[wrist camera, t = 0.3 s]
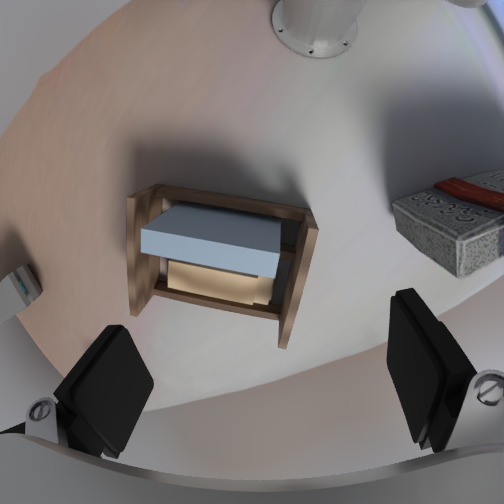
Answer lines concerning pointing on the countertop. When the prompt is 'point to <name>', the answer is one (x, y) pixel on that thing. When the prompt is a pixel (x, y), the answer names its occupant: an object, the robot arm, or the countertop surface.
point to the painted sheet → (215, 238)
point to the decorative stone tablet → (456, 222)
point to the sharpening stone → (17, 292)
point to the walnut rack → (148, 284)
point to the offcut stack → (219, 282)
